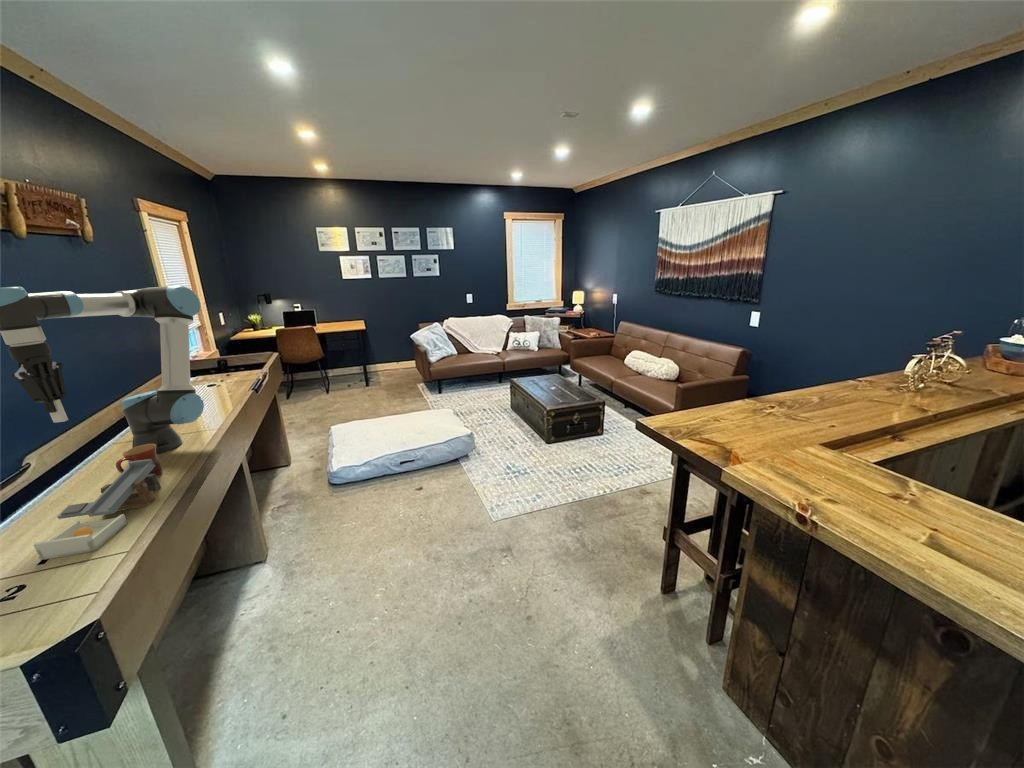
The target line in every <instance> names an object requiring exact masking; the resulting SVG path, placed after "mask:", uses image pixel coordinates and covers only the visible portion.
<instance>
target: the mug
mask: <svg viewBox="0 0 1024 768" xmlns="http://www.w3.org/2000/svg"><path fill="white" fill-rule="evenodd" d="M121 454H122V457H121V458H120V459H118V460H117V461H116V462H115V468H116V470H117V471H118V473H120V474H121V473H122V472H123V471H124V470H125V469H124V468H123V467H122V463H123V462H125V461H127V462H128V463H129V462H130V461H138V460H145V459H152V461H153V463H154V464H155V467H154V468H153V469H152V471H151V472H150V473H149V474H155V473H156V476H157V477H158V476H159V475H160V474H161V473H163V469H162V464H161V461H160V459H159V457H158V454H156V444H145V445H140V446H137V447H134V448H132V447H131V448H129V449H126V450H125V451H123V452H122V453H121Z"/></svg>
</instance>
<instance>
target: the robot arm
mask: <svg viewBox="0 0 1024 768" xmlns="http://www.w3.org/2000/svg"><path fill="white" fill-rule="evenodd" d="M200 311H201V301H200V299H199V297H198V296H197V294H196V293H195V292H194V291H193V290H192V289H191V288H190V287H187V286H184V285H173V284H172V285H167V286H156V287H155V286H154V287H153V286H152V287H145V288H138V289H132V290H130V289H129V290H117V291H115V292H113V293H75V292H73V291H69V290H68V291H67V290H58V291H57V290H56V291H44V292H33V293H29V292H28V291H26V289H25V288H24V287H22V286H7V287H6V286H5V287H0V335H1V336H2V339H3V341H4V344H5V345H7V346H8V347H7V348H6V349H7V352H8V353H9V356H10V358H11V359H12V360H15V361H16V362H17V368H18V370H17V371H16V372H12V373H11V374H10V375H11V377H12V378H14V379H15V380H16V381H18V383H19V384H20V385H21V387H22V389H24V390H25V392H26V393H27V395H28V396H29V397H30V399H31V400H32V401H33V402H34V403H38V404H43V405H44V408H45V410H46V412H47V413H48V414H49V416H50V418H51V420H52V422H53V423H54V424H55V423H63V422H64V423H65V422H67V421H69V417H68V416H67V413H66V411H65V405H64V403H63V401H62V399H65V398H66V394H67V390H66V386H65V385H66V384H65V379H64V374H63V367H64V365H63V362H61V361H60V362H59V361H58V362H56V361H53V358H52V357H50V355H51V354H52V350H51V346H50V345H49V343H48V342H46V341H47V337H46V335H45V333H44V331H43V328H42V326H41V323H40V321H42V320H49V319H62V318H79V317H80V318H82V317H99V316H100V317H101V316H113V315H114V316H115V315H118V316H120V317H124V318H128V317H138V318H139V317H140V318H141V317H143V318H154V321H156V322H157V323H159V333H160V335H159V336H160V362H161V363H160V364H161V365H160V367H161V369H160V370H161V386H160V387H159V388H158V389H156V390H150V391H145V392H142V393H139V394H136V395H135V394H134V395H132V396H129V397H126V398H124V399H122V400H121V404H120V405H121V407H122V412H123V415H124V417H125V419H126V422H127V424H128V427H129V429H130V432H131V434H132V447H131V448H134V447H137V446H140V445H145V444H156V454H157V455H158V454H161V453H165V452H168V451H170V450H173V449H175V448H177V447H179V446H180V445H181V444H182V443H183V440H182V437H181V436H180V435H179V434H178V432H177V431H176V430H175V429H174V428H173V427H172V425H184V424H190V423H193V422H196V421H197V420H198V419H199V417H201V416H202V414H203V412H204V408H205V407H204V406H205V404H204V399H203V398H202V397H201V396H200V395H199V394H197V392H196V388H195V387H193V386H192V384H191V359H190V329H189V327H190V325H191V324H193V323H194V316H195V315H197V314H198V313H199V312H200Z"/></svg>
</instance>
